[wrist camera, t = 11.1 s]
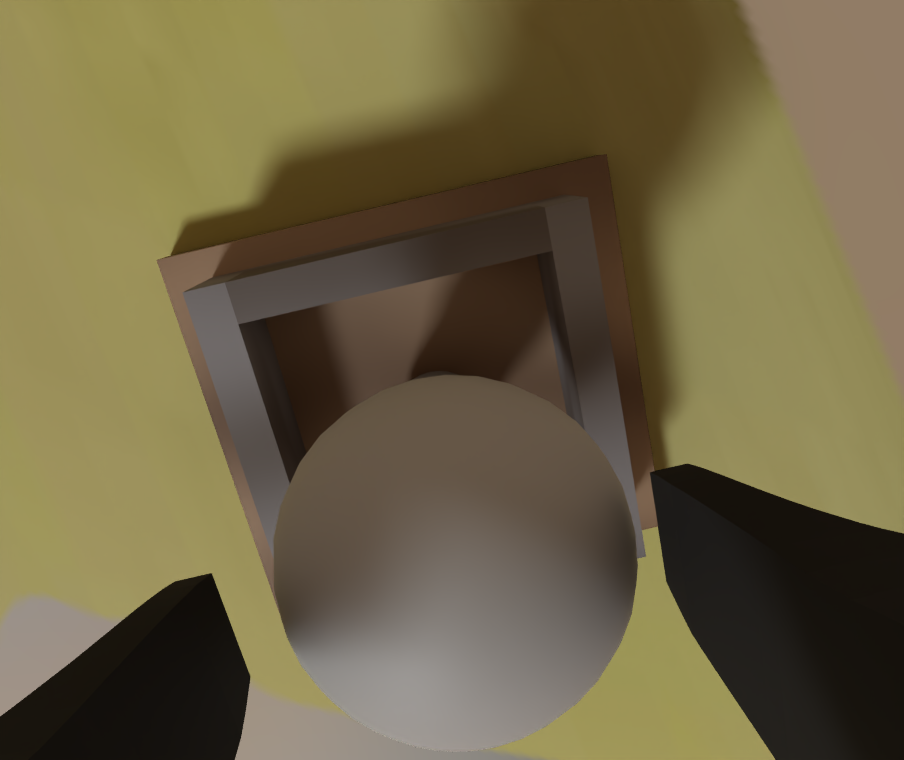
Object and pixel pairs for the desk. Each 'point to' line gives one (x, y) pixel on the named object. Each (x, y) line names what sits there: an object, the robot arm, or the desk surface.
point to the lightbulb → (455, 562)
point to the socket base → (417, 322)
